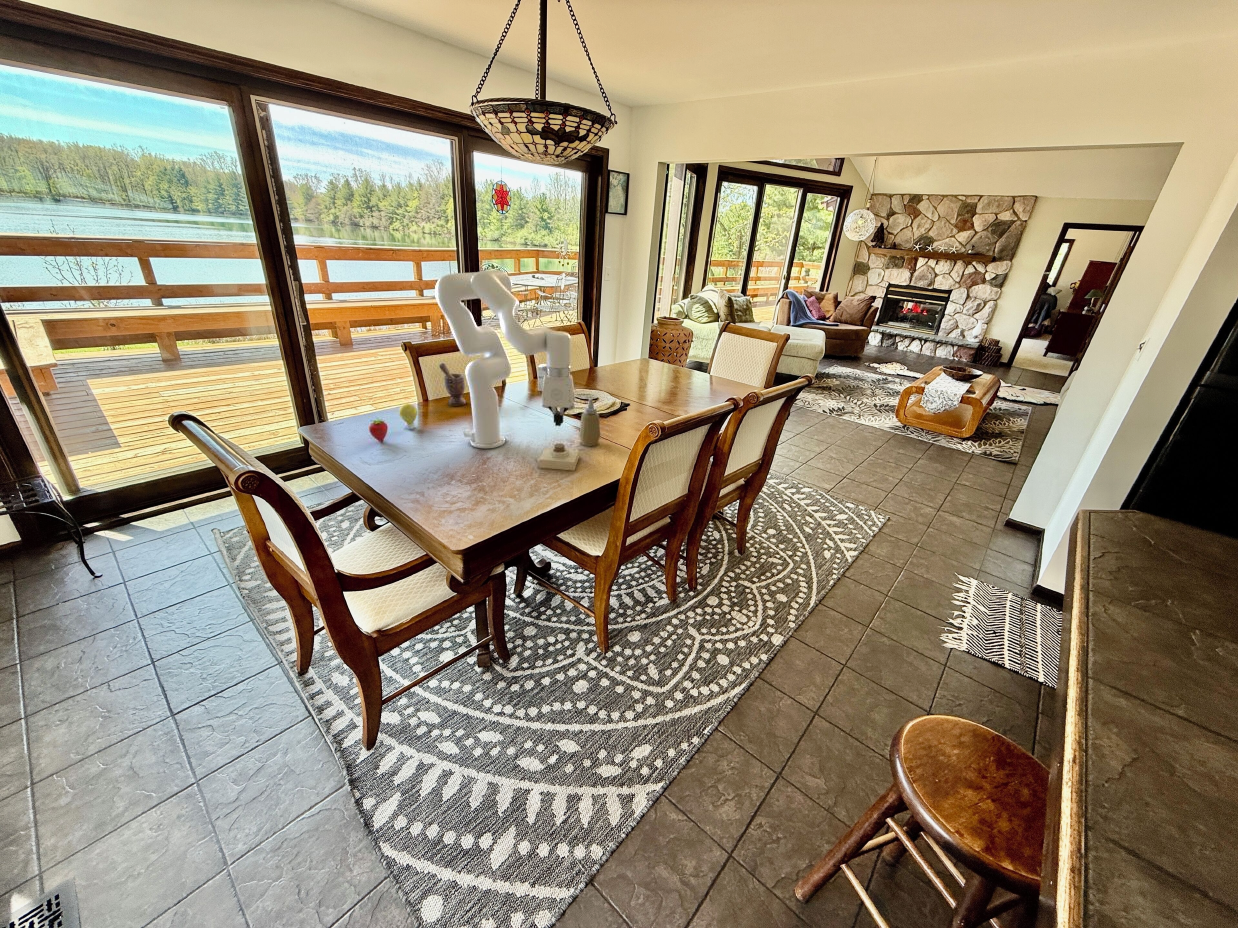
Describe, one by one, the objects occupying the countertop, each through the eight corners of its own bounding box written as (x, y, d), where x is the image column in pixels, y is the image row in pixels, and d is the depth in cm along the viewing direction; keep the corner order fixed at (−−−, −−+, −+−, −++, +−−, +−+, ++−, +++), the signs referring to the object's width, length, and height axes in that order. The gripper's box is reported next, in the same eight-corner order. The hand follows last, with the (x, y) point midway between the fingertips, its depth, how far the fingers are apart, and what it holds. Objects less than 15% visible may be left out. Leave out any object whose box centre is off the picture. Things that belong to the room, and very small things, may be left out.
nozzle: (553, 452, 164) (553, 447, 164) (555, 448, 168) (555, 443, 167) (563, 453, 164) (563, 448, 163) (565, 449, 167) (565, 443, 167)
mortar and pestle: (460, 409, 213) (456, 365, 204) (441, 408, 213) (436, 363, 204) (469, 401, 223) (465, 358, 215) (450, 400, 223) (446, 357, 215)
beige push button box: (539, 467, 164) (539, 454, 162) (545, 455, 173) (545, 443, 171) (574, 470, 163) (574, 457, 161) (578, 458, 172) (578, 445, 170)
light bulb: (397, 429, 189) (393, 405, 184) (410, 424, 194) (406, 400, 190) (411, 432, 186) (407, 408, 182) (423, 427, 192) (420, 403, 188)
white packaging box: (537, 391, 242) (537, 366, 237) (542, 387, 249) (541, 363, 243) (551, 392, 241) (551, 368, 236) (556, 388, 248) (555, 364, 242)
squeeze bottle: (597, 449, 180) (598, 403, 173) (576, 446, 182) (577, 400, 174) (602, 441, 188) (603, 396, 180) (582, 438, 189) (583, 394, 181)
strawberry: (368, 445, 174) (363, 419, 169) (377, 437, 180) (372, 412, 176) (384, 446, 174) (380, 420, 169) (393, 438, 181) (388, 413, 176)
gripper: (532, 372, 151) (534, 427, 159) (579, 376, 150) (578, 430, 158) (538, 366, 158) (539, 419, 166) (583, 370, 157) (582, 422, 165)
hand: (558, 424), depth 162 cm, fingers closed
